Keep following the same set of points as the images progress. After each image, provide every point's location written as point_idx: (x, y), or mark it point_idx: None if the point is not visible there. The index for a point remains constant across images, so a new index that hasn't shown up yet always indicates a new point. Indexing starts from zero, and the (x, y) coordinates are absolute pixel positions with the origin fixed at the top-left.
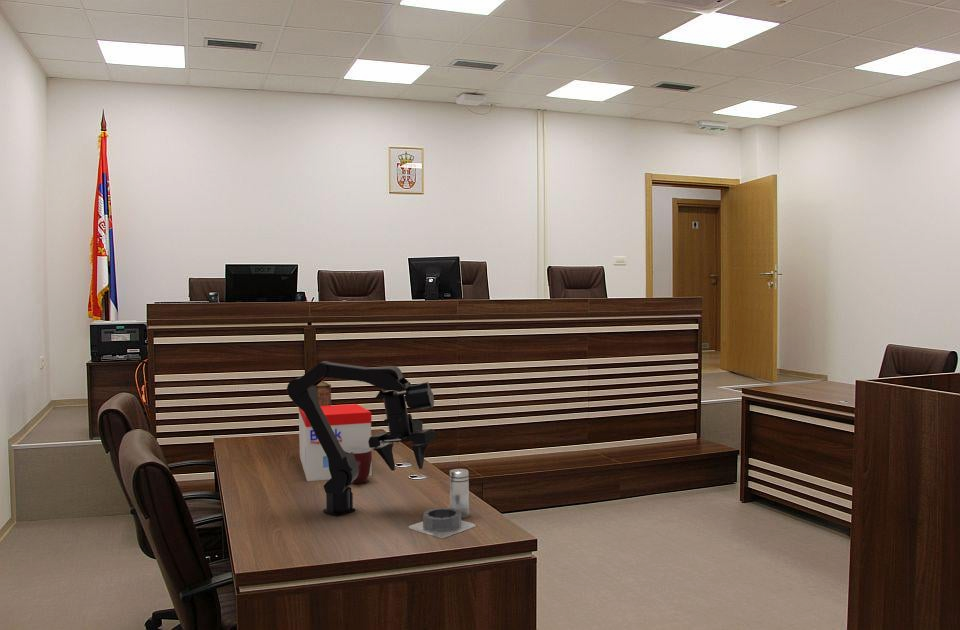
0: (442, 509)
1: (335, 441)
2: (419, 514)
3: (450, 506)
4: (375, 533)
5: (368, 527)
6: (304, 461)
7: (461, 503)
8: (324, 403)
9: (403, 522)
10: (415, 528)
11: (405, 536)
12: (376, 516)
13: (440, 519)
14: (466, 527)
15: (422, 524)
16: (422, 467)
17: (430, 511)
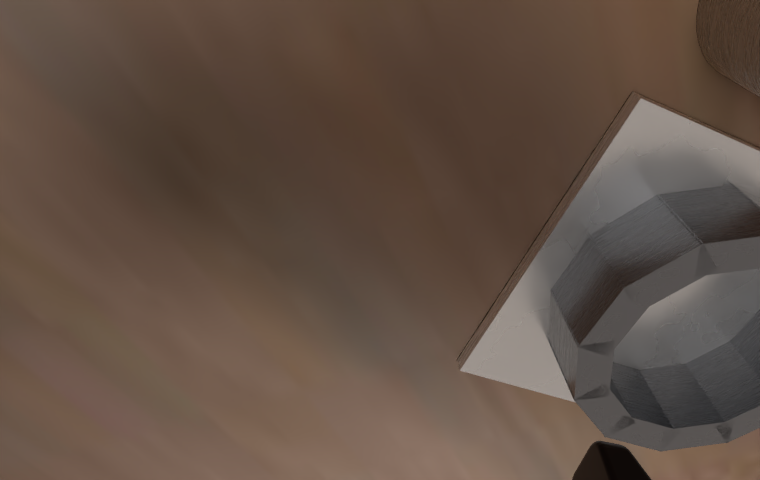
0: (707, 272)
1: None
2: (413, 84)
3: (751, 80)
4: (307, 463)
5: (208, 412)
6: None
7: None
8: None
9: (373, 283)
10: (513, 382)
11: (486, 450)
12: (102, 236)
13: (717, 443)
14: None
15: (538, 326)
16: (628, 461)
17: (618, 343)
